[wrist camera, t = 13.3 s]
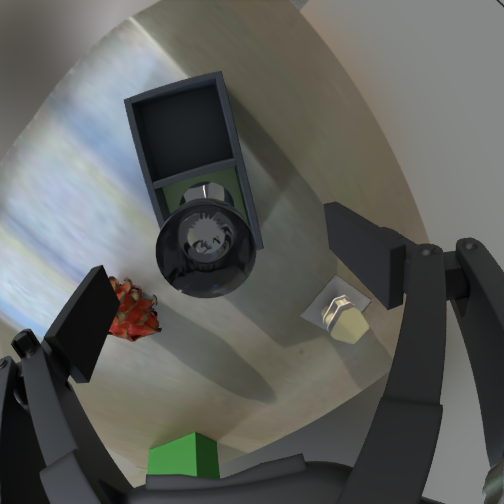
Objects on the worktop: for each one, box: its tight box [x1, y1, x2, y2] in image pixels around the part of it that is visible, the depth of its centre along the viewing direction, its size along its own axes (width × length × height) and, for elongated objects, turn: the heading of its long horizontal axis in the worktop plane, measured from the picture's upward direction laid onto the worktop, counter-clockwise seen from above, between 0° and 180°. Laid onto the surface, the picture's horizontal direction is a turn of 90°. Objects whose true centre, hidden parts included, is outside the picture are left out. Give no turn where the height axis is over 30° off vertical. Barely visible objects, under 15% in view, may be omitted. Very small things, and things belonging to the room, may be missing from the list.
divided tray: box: [124, 71, 264, 250], centre depth 32 cm, size 11×21×5 cm, turn 13°
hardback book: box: [147, 432, 220, 479], centre depth 46 cm, size 18×7×24 cm, turn 127°
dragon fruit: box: [108, 276, 162, 342], centre depth 36 cm, size 8×8×12 cm
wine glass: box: [156, 182, 256, 298], centre depth 29 cm, size 8×8×15 cm
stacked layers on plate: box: [300, 275, 371, 344], centre depth 43 cm, size 10×9×6 cm
